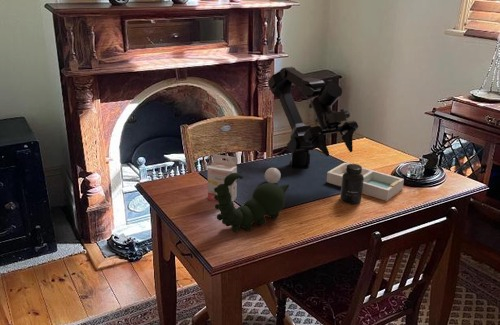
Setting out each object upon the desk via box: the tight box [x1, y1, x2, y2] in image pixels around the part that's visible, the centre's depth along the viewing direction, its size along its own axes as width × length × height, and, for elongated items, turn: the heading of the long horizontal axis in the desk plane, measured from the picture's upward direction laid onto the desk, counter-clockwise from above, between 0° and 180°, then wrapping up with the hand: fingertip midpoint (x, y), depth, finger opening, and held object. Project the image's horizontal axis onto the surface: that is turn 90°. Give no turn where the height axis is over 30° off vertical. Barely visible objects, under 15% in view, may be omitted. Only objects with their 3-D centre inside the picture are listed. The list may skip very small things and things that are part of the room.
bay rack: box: [326, 162, 405, 202], centre depth 173 cm, size 23×12×4 cm, turn 50°
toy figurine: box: [214, 172, 290, 233], centre depth 145 cm, size 10×19×26 cm
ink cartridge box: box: [207, 153, 238, 203], centre depth 160 cm, size 9×5×15 cm, turn 71°
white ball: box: [264, 167, 282, 184], centre depth 174 cm, size 8×6×6 cm
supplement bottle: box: [339, 163, 364, 205], centre depth 161 cm, size 7×7×12 cm
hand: (340, 153), depth 165 cm, fingers open, 9 cm apart
